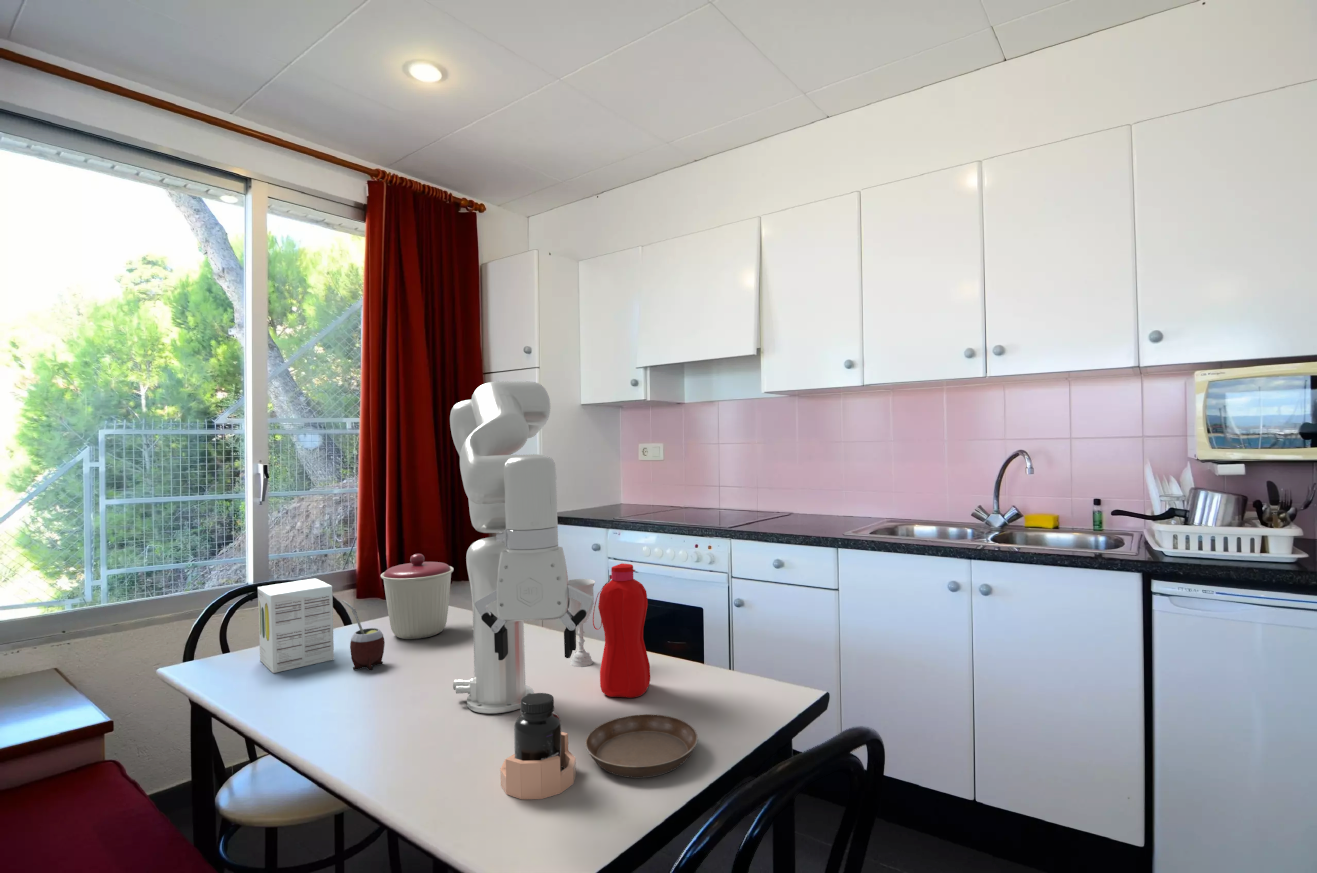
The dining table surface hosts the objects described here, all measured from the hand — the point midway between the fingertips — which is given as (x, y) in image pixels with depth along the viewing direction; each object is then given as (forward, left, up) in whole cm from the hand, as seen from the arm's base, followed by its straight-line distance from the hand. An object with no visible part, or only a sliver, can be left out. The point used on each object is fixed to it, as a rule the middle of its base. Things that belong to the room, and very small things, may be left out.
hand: (536, 656), depth 98 cm
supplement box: (-68, +58, -19) cm, 92 cm away
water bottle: (+10, +34, -19) cm, 40 cm away
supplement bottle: (0, 0, -19) cm, 19 cm away
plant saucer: (+15, +7, -19) cm, 25 cm away
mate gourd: (-49, +52, -19) cm, 74 cm away
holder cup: (0, 0, -18) cm, 18 cm away
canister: (-46, +77, -19) cm, 92 cm away
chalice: (0, +51, -19) cm, 55 cm away
